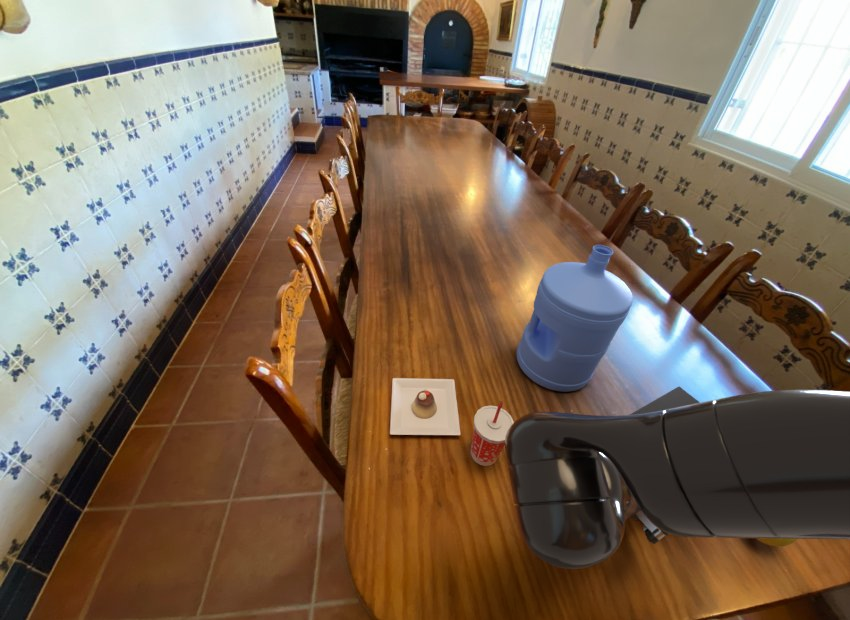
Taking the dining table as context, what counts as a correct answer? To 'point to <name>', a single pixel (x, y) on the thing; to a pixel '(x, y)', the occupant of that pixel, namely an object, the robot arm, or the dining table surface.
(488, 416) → the beverage cup
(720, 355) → the dining table surface
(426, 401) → the dessert
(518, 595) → the dining table surface
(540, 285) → the water jug
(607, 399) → the dining table surface
